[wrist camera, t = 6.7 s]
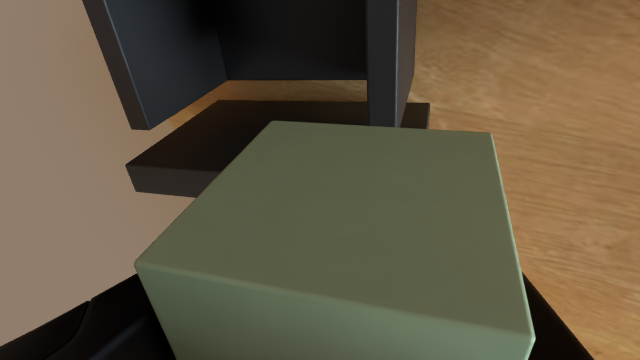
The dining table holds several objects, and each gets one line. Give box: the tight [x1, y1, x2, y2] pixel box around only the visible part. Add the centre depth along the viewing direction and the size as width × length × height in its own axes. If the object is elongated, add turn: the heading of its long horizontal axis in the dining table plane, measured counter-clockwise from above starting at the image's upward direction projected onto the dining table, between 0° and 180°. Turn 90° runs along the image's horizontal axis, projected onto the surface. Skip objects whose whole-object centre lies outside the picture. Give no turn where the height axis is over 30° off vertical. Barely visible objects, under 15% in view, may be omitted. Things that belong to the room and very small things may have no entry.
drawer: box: [82, 0, 430, 198], centre depth 13 cm, size 17×10×7 cm, turn 5°
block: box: [134, 121, 536, 360], centre depth 7 cm, size 4×4×4 cm
